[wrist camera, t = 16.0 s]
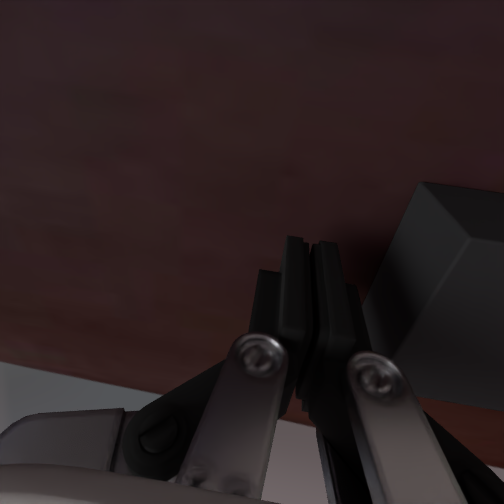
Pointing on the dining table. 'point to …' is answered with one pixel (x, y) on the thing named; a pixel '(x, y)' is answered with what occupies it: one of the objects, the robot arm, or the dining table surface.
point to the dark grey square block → (444, 296)
